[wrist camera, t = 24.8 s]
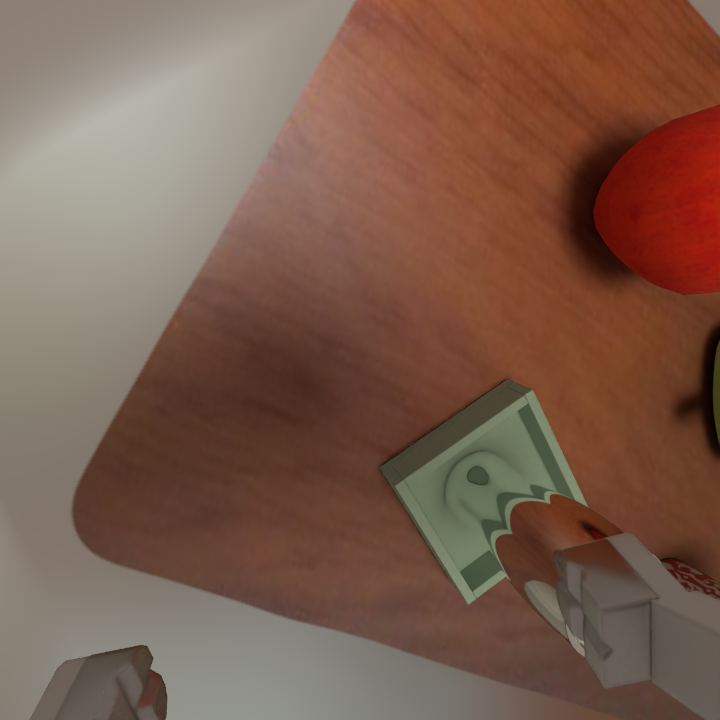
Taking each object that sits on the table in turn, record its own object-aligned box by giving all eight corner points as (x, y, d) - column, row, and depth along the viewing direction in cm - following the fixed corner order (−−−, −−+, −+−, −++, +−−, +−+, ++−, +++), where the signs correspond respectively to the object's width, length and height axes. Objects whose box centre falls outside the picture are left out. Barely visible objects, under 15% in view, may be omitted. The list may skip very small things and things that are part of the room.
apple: (631, 310, 43) (806, 331, 30) (530, 244, 39) (682, 236, 26) (697, 184, 42) (902, 152, 30) (601, 104, 39) (790, 29, 26)
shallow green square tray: (448, 578, 43) (468, 605, 40) (379, 467, 39) (394, 486, 36) (562, 493, 45) (590, 512, 41) (507, 378, 41) (533, 389, 37)
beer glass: (425, 513, 40) (542, 653, 26) (460, 434, 39) (600, 531, 25) (494, 534, 42) (637, 673, 28) (528, 459, 42) (691, 562, 27)
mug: (708, 552, 51) (872, 648, 39) (679, 632, 52) (829, 751, 40) (614, 540, 47) (761, 643, 35) (584, 627, 48) (717, 757, 36)
